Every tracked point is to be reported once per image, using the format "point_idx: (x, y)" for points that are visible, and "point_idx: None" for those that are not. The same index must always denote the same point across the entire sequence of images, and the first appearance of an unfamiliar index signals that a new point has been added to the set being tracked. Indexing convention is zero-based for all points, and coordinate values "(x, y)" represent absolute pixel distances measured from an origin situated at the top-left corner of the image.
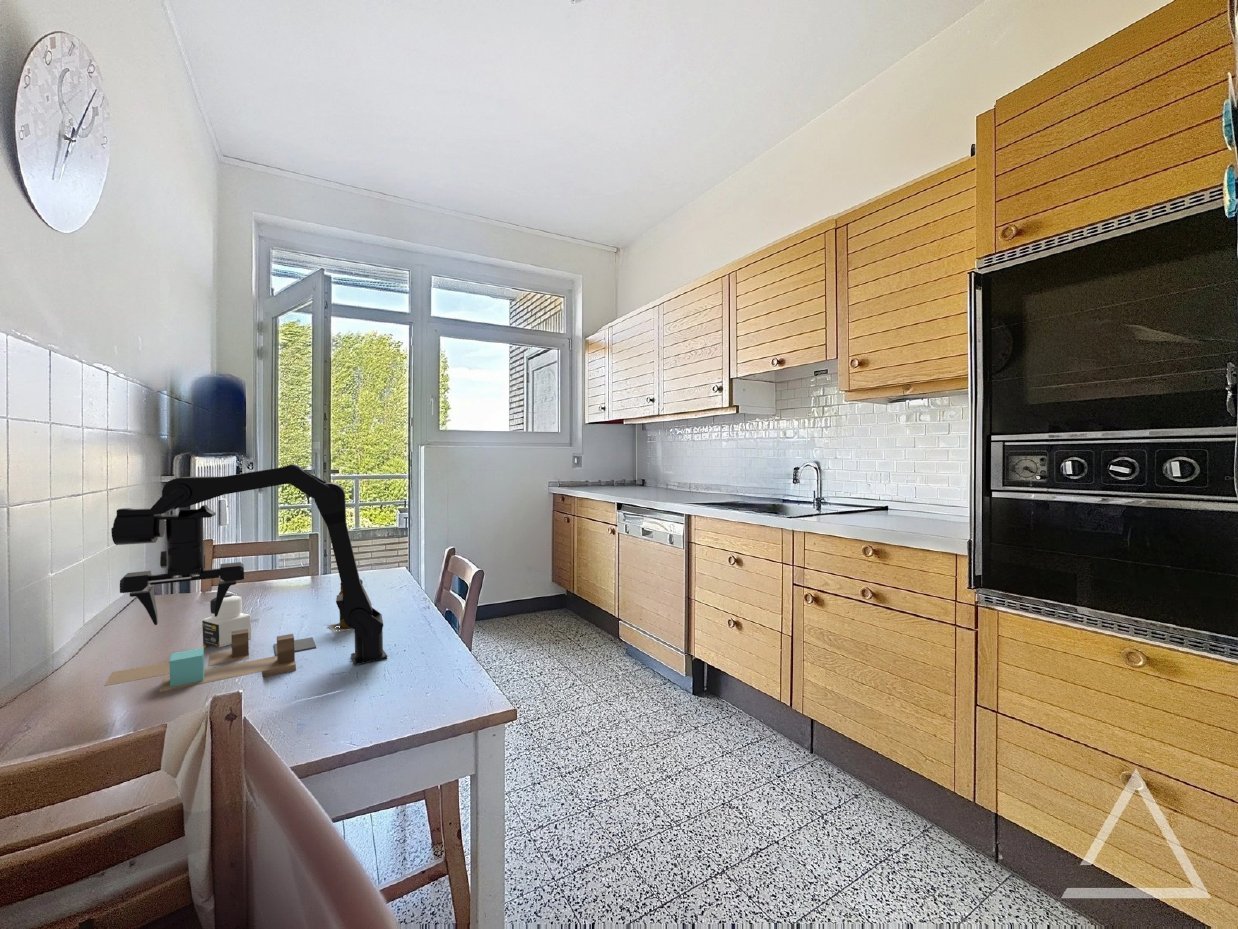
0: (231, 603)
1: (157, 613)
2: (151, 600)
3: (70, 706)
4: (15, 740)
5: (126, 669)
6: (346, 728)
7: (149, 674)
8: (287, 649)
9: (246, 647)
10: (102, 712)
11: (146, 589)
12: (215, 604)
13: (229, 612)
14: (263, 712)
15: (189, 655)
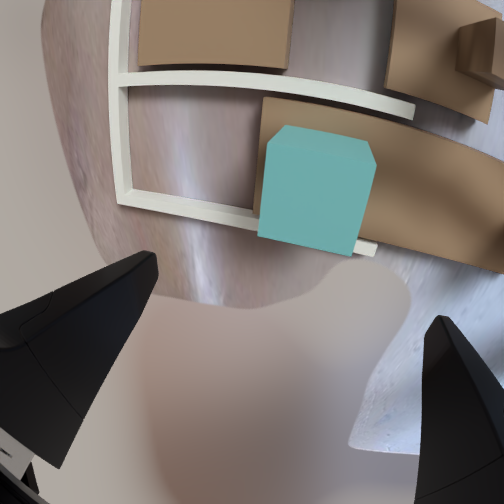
0: None
1: (120, 281)
2: (79, 425)
3: (108, 107)
4: (88, 217)
5: None
6: (404, 436)
7: (227, 37)
8: None
9: (502, 89)
10: (164, 188)
11: (27, 461)
12: (421, 424)
13: None
14: (380, 378)
15: (317, 224)
